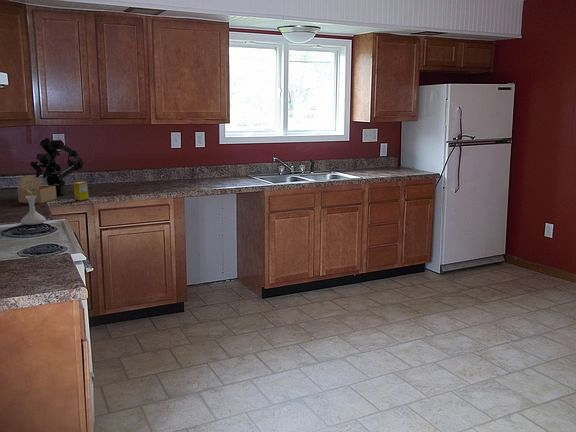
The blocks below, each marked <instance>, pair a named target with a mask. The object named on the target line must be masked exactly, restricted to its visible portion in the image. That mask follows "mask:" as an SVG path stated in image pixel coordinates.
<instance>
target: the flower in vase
mask: <svg viewBox="0 0 576 432" xmlns="http://www.w3.org/2000/svg"><path fill="white" fill-rule="evenodd" d="M24 177H25V178H23V181H22V184H21V185H23V186H22V189H24V190H26V189H27V192H28V193H30V194H32V195H36V193H35V190H34V191H32V192H31V191H29V190H28V189H29V188H30V186H31V185H32V183H33V179H34V178H35V177H33V176H32V175H31V174H29V175H28V174H27V175H26V176H24ZM31 187H32V186H31ZM32 190H33V188H32ZM32 195H31V196H26V198H27V200H28V202H29V203H28V206H29V211H28V212H27V213H26V215H24V216H23V218H22V219H21V220H20V223H21V224H23V225H28V226H33V225H34V226H35V225H39V224H43V223H45V222H46V217H45V216H44V215H42V214H40V213H39V212H38V211H36V207H35V203H34V201H35V198H36V196H32Z"/></svg>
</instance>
